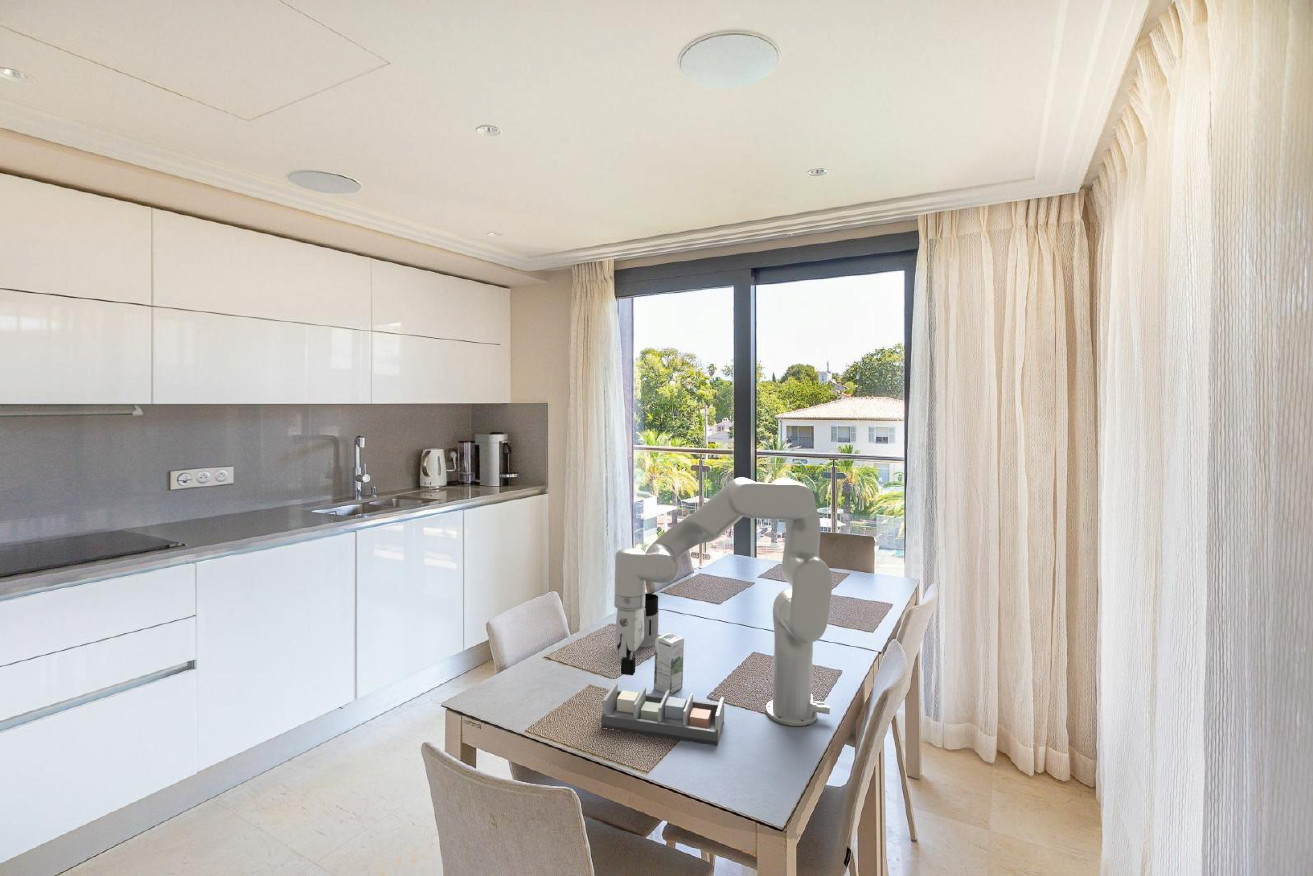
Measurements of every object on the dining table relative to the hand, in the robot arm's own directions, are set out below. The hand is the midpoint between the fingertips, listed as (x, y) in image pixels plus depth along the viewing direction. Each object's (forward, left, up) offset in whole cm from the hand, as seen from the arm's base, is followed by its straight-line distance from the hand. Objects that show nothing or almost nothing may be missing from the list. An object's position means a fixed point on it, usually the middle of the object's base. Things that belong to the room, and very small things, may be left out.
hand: (628, 673), depth 152 cm
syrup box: (-6, -19, -12) cm, 23 cm away
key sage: (-6, 0, -11) cm, 12 cm away
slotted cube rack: (-9, 0, -12) cm, 15 cm away
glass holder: (+8, -47, -12) cm, 49 cm away
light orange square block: (-18, 0, -11) cm, 21 cm away
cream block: (0, 0, -9) cm, 9 cm away
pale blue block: (-12, 0, -9) cm, 15 cm away
